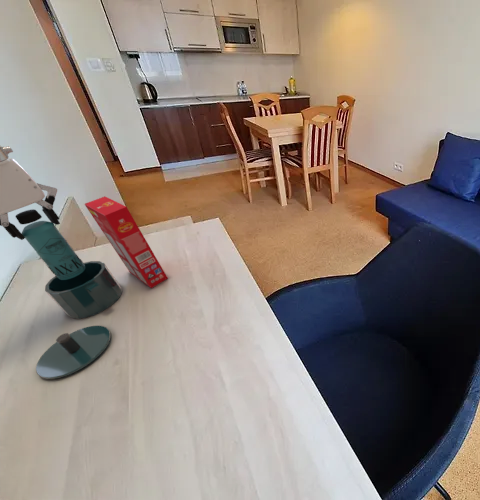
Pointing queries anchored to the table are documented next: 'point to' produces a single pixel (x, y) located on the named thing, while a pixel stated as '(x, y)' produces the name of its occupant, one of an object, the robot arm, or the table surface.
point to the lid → (73, 352)
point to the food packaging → (127, 240)
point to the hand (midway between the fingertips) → (38, 230)
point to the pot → (85, 291)
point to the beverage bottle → (50, 245)
